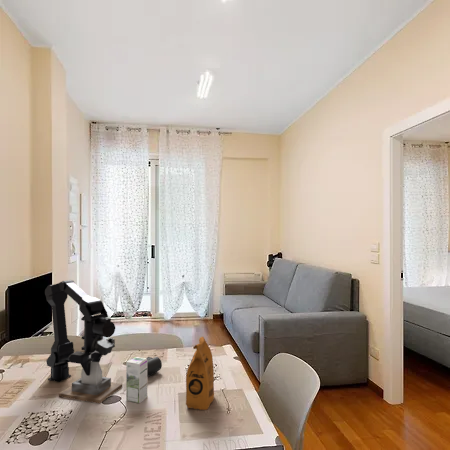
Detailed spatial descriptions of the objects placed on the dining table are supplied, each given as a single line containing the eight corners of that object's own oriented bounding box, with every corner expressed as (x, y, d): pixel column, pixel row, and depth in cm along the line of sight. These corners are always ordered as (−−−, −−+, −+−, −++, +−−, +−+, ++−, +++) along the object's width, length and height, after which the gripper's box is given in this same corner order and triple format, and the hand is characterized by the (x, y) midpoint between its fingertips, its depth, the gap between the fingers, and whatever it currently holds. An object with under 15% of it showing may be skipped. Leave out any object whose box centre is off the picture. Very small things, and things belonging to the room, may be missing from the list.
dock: (59, 396, 129) (59, 385, 129) (84, 381, 142) (84, 370, 142) (99, 403, 123) (99, 391, 123) (122, 386, 136) (122, 376, 137)
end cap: (145, 381, 142) (145, 365, 142) (133, 377, 145) (133, 361, 145) (162, 373, 150) (162, 357, 150) (150, 369, 154) (150, 354, 154)
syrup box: (147, 396, 128) (148, 357, 129) (139, 404, 123) (139, 363, 123) (134, 394, 130) (135, 355, 131) (125, 401, 125) (125, 361, 125)
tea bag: (96, 390, 130) (95, 364, 130) (81, 389, 132) (80, 362, 132) (102, 386, 133) (101, 360, 134) (88, 385, 135) (87, 359, 136)
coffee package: (181, 409, 119) (181, 345, 120) (192, 392, 131) (192, 335, 132) (208, 412, 117) (208, 347, 118) (217, 395, 129) (217, 336, 130)
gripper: (93, 342, 122) (92, 386, 121) (123, 328, 140) (123, 366, 139) (67, 339, 125) (67, 382, 125) (100, 325, 143) (100, 363, 143)
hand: (91, 373), depth 133 cm, fingers closed on tea bag, 4 cm apart
